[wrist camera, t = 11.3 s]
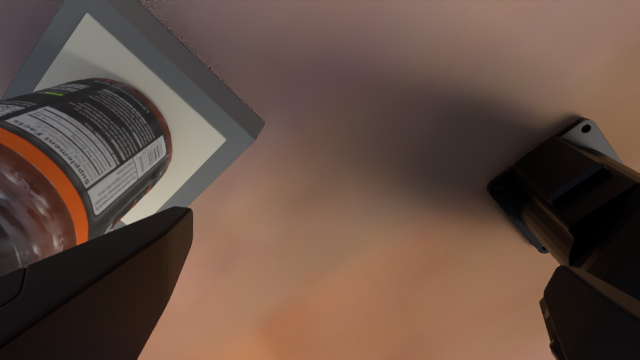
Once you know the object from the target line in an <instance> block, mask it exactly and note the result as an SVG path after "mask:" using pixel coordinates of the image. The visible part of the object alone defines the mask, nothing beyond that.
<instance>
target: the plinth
mask: <svg viewBox="0 0 640 360" xmlns="http://www.w3.org/2000/svg"><path fill="white" fill-rule="evenodd" d="M88 78H107V79H111V80H115V81H118V82H122V83H125V84H127V85H129V86H131V87H133V88H135V89H136V90H138V91H139V92H141V93H142V94H144V95H145V96H146V97H147V98H148V99H149V100H150V101H151V102H152V103H153V104H154V105H155V106H156V107H157V109H158V110H159V111H160V113H161V114H162V116H163V117H164V119H165V121H166V122H167V125H168V128H169V131H170V133H171V140H172V159H171V162H170V164H169V166H168V168H167V171H166V172H165V174H164V175H163V176H162V178H161V179H160V180H159V181H158V182H157V184H156V185H155V186H154V187H153V188H152V189H151V190H150V191H149V192H148V193H147V194H146V195H145V196H144V197H143V198H142V199H141V200H140V201H139V202H138V203H137V204H136V205H135V206H134V207H133V208H132V209H131V210H130V211H129V212H128V213H127V214H126V215H125V216H124V217H123V218H122V219H121V220H120V221H119V222H118V223H117V224H116V225H115V226H114V227H113V228H112V229H113V230H116V229H118V228H121V227H123V226H126V225H128V224H131V223H133V222H136V221H138V220H140V219H143V218H145V217H148V216H150V215H153V214H155V213H158V212H160V211H163V210H165V209H168V208H170V207H173V206H180V207H188V206H189V205H190V204H191V203H192V202H193V201H194V200H195V199H196V198H197V197H198V196H199V195H200V194H201V193H202V192H203V191H204V190H205V189H206V188H207V187H208V186H209V185H210V184H211V183H212V182H213V181H214V180H215V179H216V178H217V177H218V176H219V175H220V174H221V173H222V172H223V171H224V170H225V169H226V168H227V167H228V166H229V165H230V164H231V163H232V162H233V161H234V160H235V159H236V158H237V157H238V156H239V155H240V154H241V153H242V152H243V151H244V150H245V149H247V148H248V147H249V146H250V145H251V144H252V143H253V142H254V141H255V139H256V138H257V136H258V134H259V133H260V131H261V129H262V128H263V126H264V125H265V122H264V121H263V120H262V119H261V118H260V117H259V116H258V115H256V114H255V113H254V112H253V111H252V110H251V109H250V108H249V107H248V106H247V105H246V104H245V103H244V102H243V101H242V100H241V99H240V98H239V97H238V96H237V95H236V94H235V93H234V92H233V91H231V90H230V89H229V88H228V87H227V86H226V85H225V84H224V83H223V82H222V81H221V80H220V79H219V78H218V77H217V76H216V75H215V74H214V73H213V72H212V71H211V70H210V69H209V68H208V67H206V66H205V65H204V64H203V63H202V62H201V61H200V60H199V59H198V58H197V57H196V56H195V55H194V54H193V53H192V52H191V51H190V50H189V49H188V48H187V47H186V46H185V45H184V44H183V43H181V42H180V41H179V40H178V39H177V38H176V37H175V36H174V35H173V34H172V33H171V32H170V31H169V30H168V29H167V28H166V27H165V26H164V25H163V24H162V23H161V22H160V21H159V20H158V19H156V18H155V17H154V16H153V15H152V14H151V13H150V12H149V11H148V10H147V9H146V8H145V7H144V6H143V5H142V4H141V3H140V2H139V1H138V0H65V1H64V2H63V4H62V5H61V7H60V8H59V10H58V11H57V13H56V15H55V16H54V18H53V19H52V21H51V22H50V24H49V25H48V27H47V29H46V30H45V32H44V33H43V35H42V36H41V38H40V39H39V41H38V43H37V44H36V46H35V47H34V49H33V50H32V52H31V53H30V55H29V56H28V58H27V60H26V61H25V63H24V64H23V66H22V67H21V69H20V70H19V72H18V74H17V75H16V77H15V78H14V80H13V81H12V83H11V84H10V86H9V88H8V89H7V91H6V92H5V94H4V95H3V97H2V98H1V100H0V101H2V100H6V99H10V98H13V97H16V96H20V95H24V94H28V93H31V92H35V91H39V90H43V89H46V88H50V87H54V86H57V85H59V84H64V83H67V82H71V81H76V80H83V79H88Z"/></svg>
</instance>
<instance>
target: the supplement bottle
mask: <svg viewBox="0 0 640 360" xmlns="http://www.w3.org/2000/svg"><path fill="white" fill-rule="evenodd" d="M171 159H172V140H171V133H170V131H169V128H168V125H167V122H166V121H165V119H164V117H163V116H162V114H161V113H160V111H159V110H158V109H157V107H156V106H155V105H154V104H153V103H152V102H151V101H150V100H149V99H148V98H147V97H146V96H145V95H144V94H142V93H141V92H139V91H138V90H136V89H135V88H133V87H131V86H129V85H127V84H125V83H122V82H118V81H115V80H111V79H107V78H88V79H83V80H76V81H71V82H67V83H64V84H59V85H57V86H54V87H50V88H46V89H43V90H39V91H35V92H31V93H28V94H24V95H20V96H16V97H13V98H10V99H6V100H2V101H0V276H2V275H5V274H7V273H10V272H12V271H15V270H17V269H19V268H22V267H24V268H26V267H27V266H28V265H30V264H32V263H34V262H37V261H39V260H42V259H44V258H47V257H49V256H52V255H54V254H57V253H59V252H62V251H64V250H67V249H69V248H71V247H74V246H76V245H79V244H81V243H84V242H86V241H89V240H91V239H94V238H96V237H99V236H101V235H104V234H106V233H108V232H109V231H110V230H111V229H112V228H113V227H114V226H115V225H116V224H117V223H118V222H119V221H120V220H121V219H122V218H123V217H124V216H125V215H126V214H127V213H128V212H129V211H130V210H131V209H132V208H133V207H134V206H135V205H136V204H137V203H138V202H139V201H140V200H141V199H142V198H143V197H144V196H145V195H146V194H147V193H148V192H149V191H150V190H151V189H152V188H153V187H154V186H155V185H156V184H157V182H158V181H159V180H160V179H161V178H162V176H163V175H164V174H165V172H166V171H167V168H168V166H169V164H170V162H171Z"/></svg>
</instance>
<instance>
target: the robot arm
mask: <svg viewBox="0 0 640 360" xmlns="http://www.w3.org/2000/svg"><path fill="white" fill-rule="evenodd" d="M584 125H587V126H586V128H585V129H584V130H583V131H581V129H582V127H583V126H584ZM495 187H500V188H499V189H498V190H497V191H494V189H495ZM487 191H488V193H489V194H490V195H491V196H492V198H493V199H494V200H495V201H496V202H497V203H498V204H499V206H500V207H501V208H502V209H503V210H504V211H505V213H506V214H507V215H508V216H509V217H510V218H511V220H512V221H513V222H514V223H515V224H516V225H517V226H518V228H519V229H520V230H521V231H522V232H523V233H524V235H525V236H526V237H527V238H528V239H529V240H530V242H531V243H532V244H533V245H534V246H535V247H536V248H537V250H538V251H539V252H541V253H549V252H550V254H551V255H552V256H553V257H554V258H555V259H556V260H557V261H558V263H559V264H560V265H561V266H559V267H557V268H556V270H555V271H554V273H553V275H552V277H551V279H550V281H549V282H548V284H547V286H546V288H545V290H544V297H543V298H542V299H541V300H540V301H539V304H540V307H541V310H542V314H543V317H544V321H545V324H546V328H547V331H548V334H549V338H550V341H551V343H550V345H549V346H550V349H551V352H552V354H553V355H554V357H555V358H556V360H640V173H638V172H637V171H635V170H633V169H631V168H629V167H627V166H625V165H624V164H623V163H622V162H621V160H620V159H619V157H618V156H617V154H616V153H615V151H614V150H613V148H612V147H611V146H610V144H609V143H608V141H607V140H606V138H605V137H604V135H603V134H602V132H601V131H600V129H599V128H598V126H597V125H596V124H595V122H593V121H592V120H590V119H587V118H581V119H579V120H577V121H576V122H574V123H573V124H571V125H570V126H569V127H567V128H566V129H564V130H563V131H562V132H560V133H559V134H557V135H556V136H554V137H551V138H550V139H548V140H547V141H545V142H544V143H543V144H541V145H540V146H538V147H537V148H536V149H534V150H533V151H531V152H530V153H529V154H527V155H526V156H524V157H523V158H522V159H520V160H519V161H517V162H516V163H515V164H514V166H512V167H511V168H509V169H508V170H507V171H505V172H504V173H502V174H501V175H500V176H498V177H497V178H495V179H494V180H493V181H491V182H490V183H489V184H488V186H487ZM192 240H193V211H192V209H191V208H187V207H180V206H173V207H170V208H168V209H165V210H163V211H160V212H158V213H155V214H153V215H150V216H148V217H145V218H143V219H140V220H138V221H136V222H133V223H131V224H128V225H126V226H123V227H121V228H118V229H116V230H113V231H111V232H108V233H106V234H104V235H101V236H99V237H96V238H94V239H91V240H89V241H86V242H84V243H81V244H79V245H76V246H74V247H71V248H69V249H67V250H64V251H62V252H59V253H57V254H54V255H52V256H49V257H47V258H44V259H42V260H39V261H37V262H34V263H32V264H30V265H28V266H27V267H26V268H24V267H22V268H19V269H17V270H15V271H12V272H10V273H7V274H5V275H2V276H0V360H137V359H138V357H139V355H140V353H141V351H142V350H143V348H144V346H145V344H146V342H147V340H148V339H149V337H150V335H151V333H152V331H153V330H154V328H155V326H156V324H157V322H158V320H159V319H160V317H161V315H162V313H163V311H164V310H165V308H166V306H167V304H168V302H169V300H170V297H171V295H172V293H173V290H174V288H175V285H176V283H177V280H178V278H179V275H180V273H181V270H182V268H183V265H184V263H185V260H186V258H187V255H188V253H189V250H190V248H191V245H192ZM542 246H543V247H542Z"/></svg>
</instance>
